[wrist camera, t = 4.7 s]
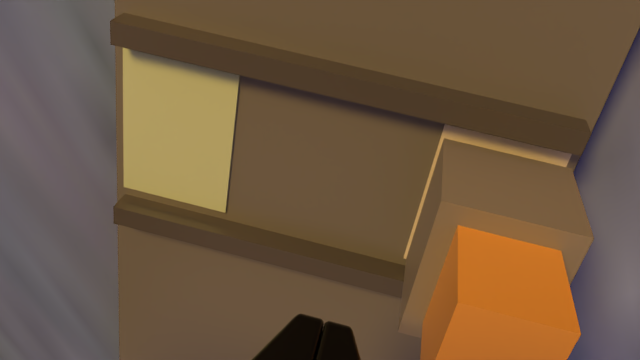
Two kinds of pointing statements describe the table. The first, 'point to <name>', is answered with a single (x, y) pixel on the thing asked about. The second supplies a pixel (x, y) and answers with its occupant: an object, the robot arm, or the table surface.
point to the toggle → (495, 258)
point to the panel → (322, 150)
